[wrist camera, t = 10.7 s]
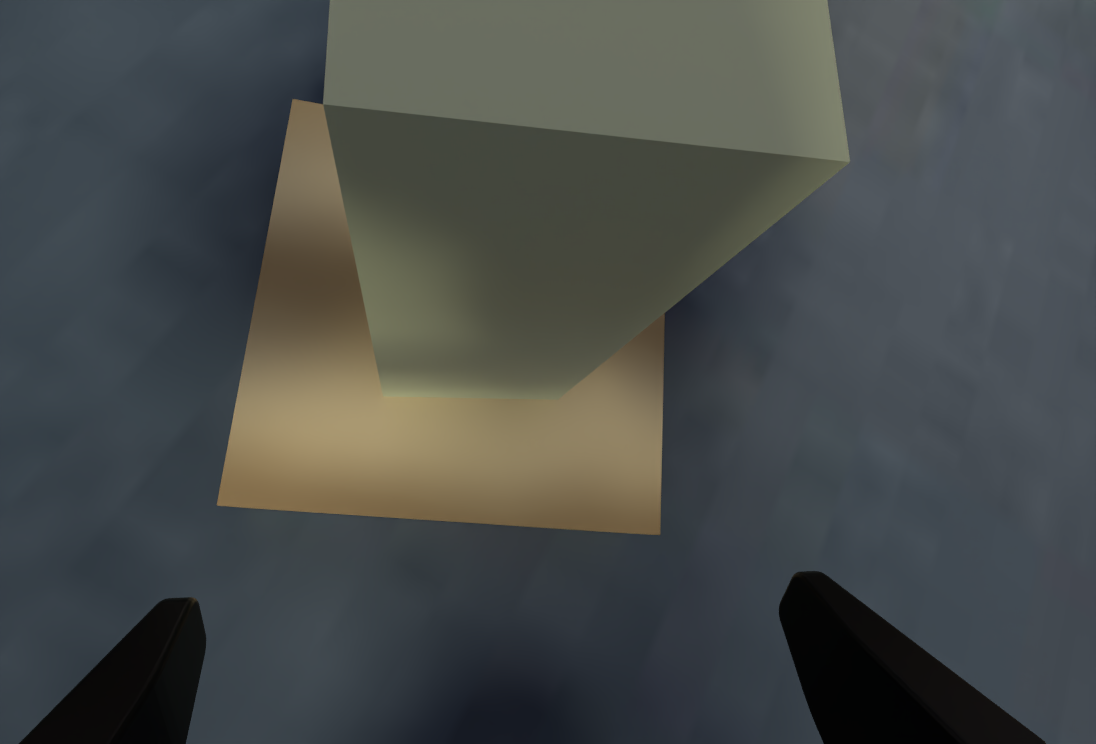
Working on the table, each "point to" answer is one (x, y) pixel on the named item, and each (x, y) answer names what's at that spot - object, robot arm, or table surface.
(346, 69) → the sage pillar
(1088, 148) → the table surface
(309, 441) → the maple base
